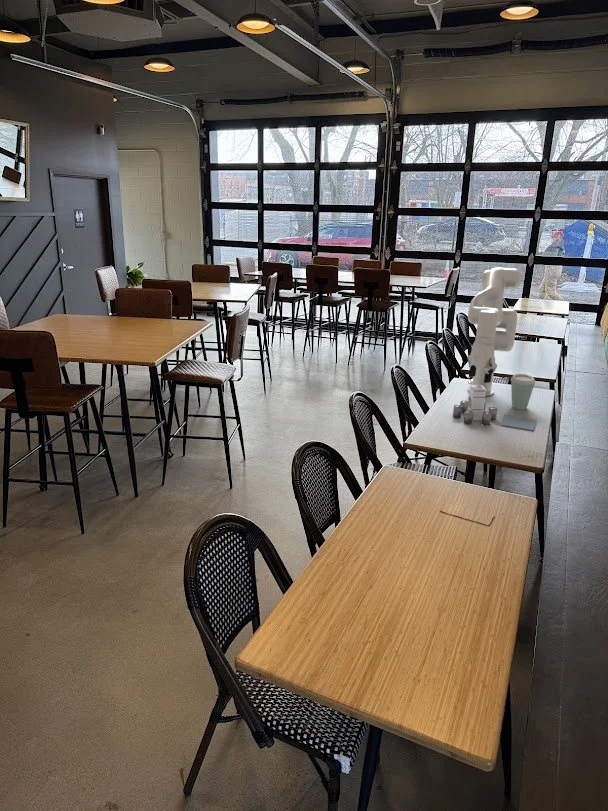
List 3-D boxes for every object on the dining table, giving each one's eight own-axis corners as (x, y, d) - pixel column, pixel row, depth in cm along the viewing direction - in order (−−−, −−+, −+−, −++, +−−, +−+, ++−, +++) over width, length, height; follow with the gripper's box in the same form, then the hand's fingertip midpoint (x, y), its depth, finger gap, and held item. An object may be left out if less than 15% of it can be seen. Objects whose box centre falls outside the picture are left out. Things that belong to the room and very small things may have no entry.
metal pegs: (445, 413, 244) (446, 402, 243) (475, 408, 251) (476, 398, 249) (472, 427, 228) (474, 416, 227) (503, 422, 235) (505, 412, 233)
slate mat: (501, 425, 231) (501, 424, 231) (504, 416, 242) (504, 414, 242) (533, 431, 226) (533, 430, 226) (535, 421, 237) (535, 419, 237)
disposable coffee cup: (534, 411, 249) (539, 380, 243) (510, 411, 249) (515, 379, 244) (525, 403, 259) (531, 373, 253) (503, 403, 259) (507, 373, 254)
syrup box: (482, 420, 237) (487, 388, 232) (469, 420, 237) (473, 388, 232) (479, 415, 242) (483, 384, 237) (465, 415, 242) (469, 384, 237)
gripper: (464, 336, 233) (459, 374, 239) (492, 345, 218) (486, 385, 224) (478, 335, 236) (473, 373, 242) (506, 344, 221) (500, 384, 227)
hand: (479, 379), depth 233 cm, fingers open, 9 cm apart
